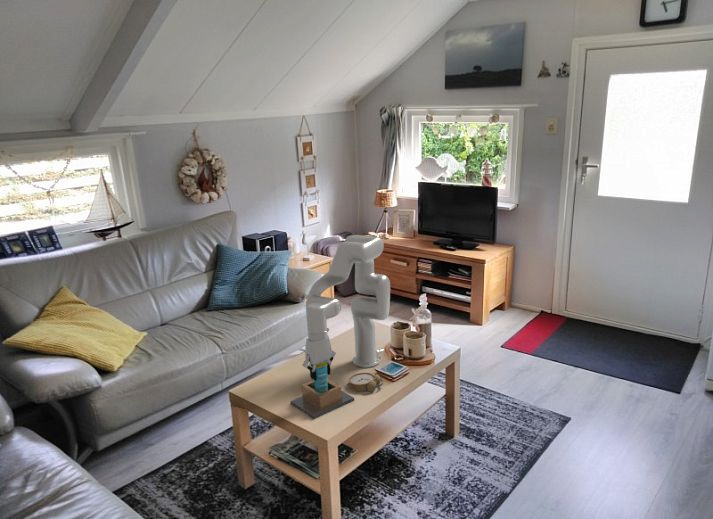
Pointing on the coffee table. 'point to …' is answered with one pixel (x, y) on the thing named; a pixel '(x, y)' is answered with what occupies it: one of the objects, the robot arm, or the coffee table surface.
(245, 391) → the coffee table surface
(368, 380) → the alarm clock
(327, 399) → the wooden box on base
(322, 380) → the tube
